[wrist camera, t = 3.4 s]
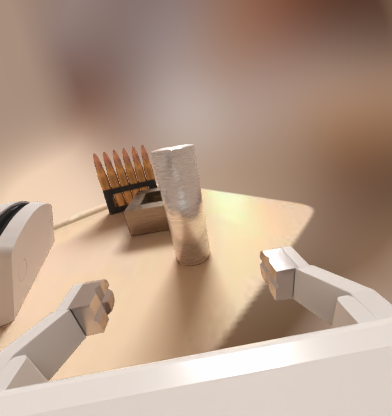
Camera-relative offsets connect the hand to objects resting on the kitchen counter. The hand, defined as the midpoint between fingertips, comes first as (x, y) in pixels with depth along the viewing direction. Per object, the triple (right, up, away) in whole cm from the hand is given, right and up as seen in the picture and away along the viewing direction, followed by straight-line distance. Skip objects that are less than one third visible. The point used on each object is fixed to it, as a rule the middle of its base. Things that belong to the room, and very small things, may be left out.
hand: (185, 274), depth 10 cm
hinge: (-21, -5, +14) cm, 25 cm away
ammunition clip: (-12, +4, +30) cm, 33 cm away
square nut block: (-5, +2, +23) cm, 24 cm away
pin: (0, -2, +12) cm, 12 cm away
